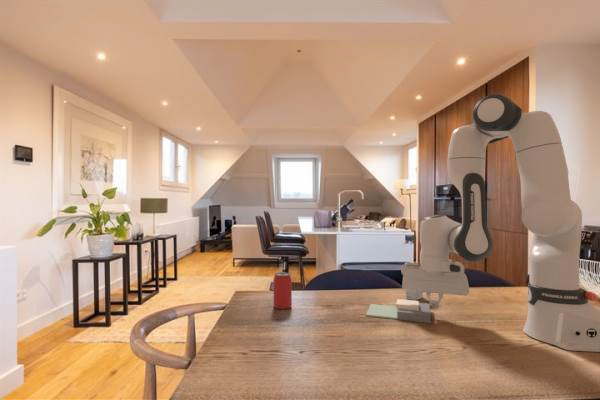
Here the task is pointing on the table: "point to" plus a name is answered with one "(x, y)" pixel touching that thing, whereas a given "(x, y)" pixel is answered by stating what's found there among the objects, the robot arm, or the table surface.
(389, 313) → the mat
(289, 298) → the beer can
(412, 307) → the tile
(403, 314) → the block
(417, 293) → the skincare box
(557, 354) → the table surface
